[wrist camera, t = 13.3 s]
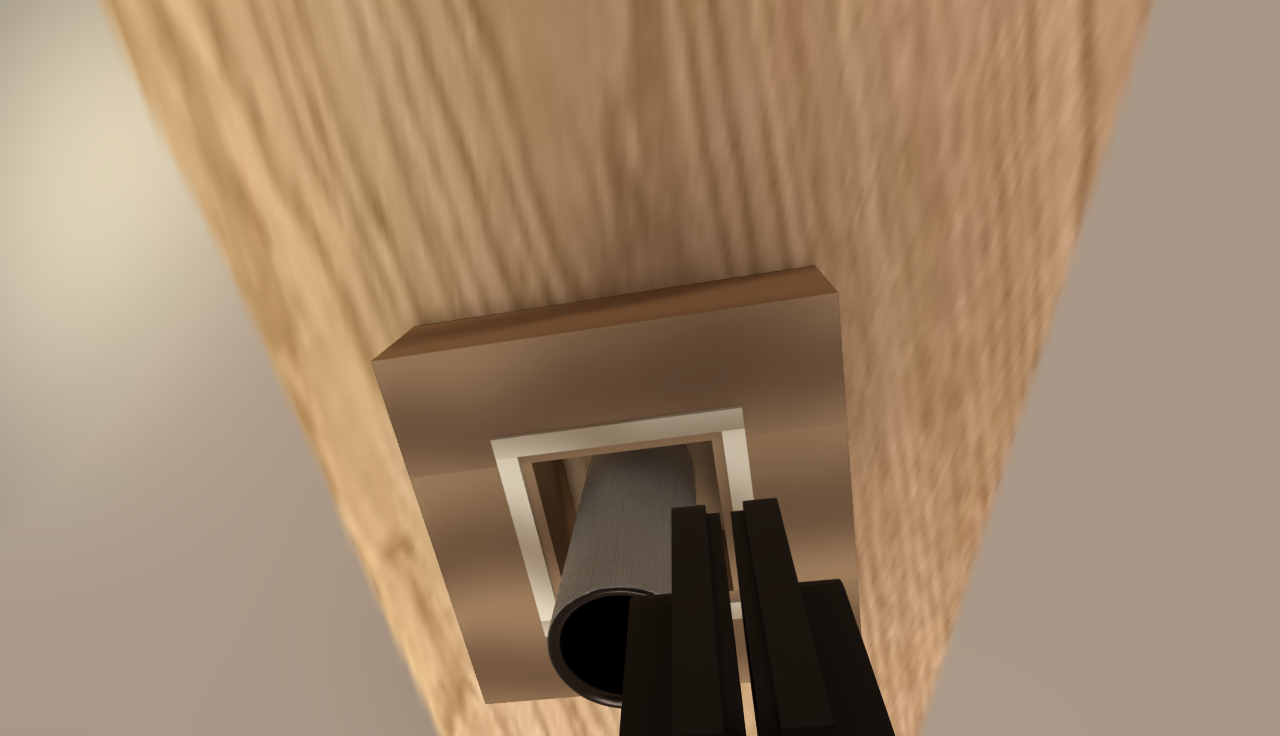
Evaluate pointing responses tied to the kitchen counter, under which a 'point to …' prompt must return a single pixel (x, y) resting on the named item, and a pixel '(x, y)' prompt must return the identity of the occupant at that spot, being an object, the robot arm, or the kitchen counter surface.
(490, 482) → the brown flat square frame
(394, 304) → the kitchen counter surface
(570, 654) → the grey hollow tube
